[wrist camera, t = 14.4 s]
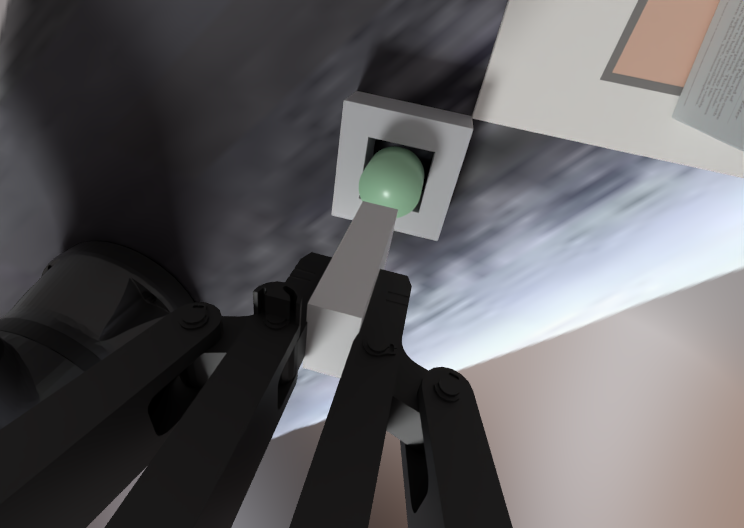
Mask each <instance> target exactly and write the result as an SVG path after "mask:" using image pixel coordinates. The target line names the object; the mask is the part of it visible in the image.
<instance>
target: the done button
mask: <svg viewBox="0 0 744 528" xmlns="http://www.w3.org/2000/svg"><path fill="white" fill-rule="evenodd" d="M423 182H424V169H423V166H422V163H421V161H420V160H419V158H418V157H417V156H416V155H415V154H414V153H413V152H411V151H410V150H408V149H406V148H403V147H398V146H392V147H386V148H384V149H381V150H380V151H378V152H377V153H376V154H375V155H374V156H373V157H372V158H371V160H370V161H369V163H368V165H367V166H366V168H365V169H364V171H363V173H362V175H361V177H360V180H359V194H360V197H361V200H362V202H363V201H365V202H369V203H373V204H377V205H381V206H386V207H390V208H394V209H398V213H397V217H396V218H399V217H403V216H405V215H407V214H408V213H410V212H411V211H412V210H413V209H414V208H415V207H416V205H417V204H418V202H419V199H420V196H421V191H422V187H423Z"/></svg>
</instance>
